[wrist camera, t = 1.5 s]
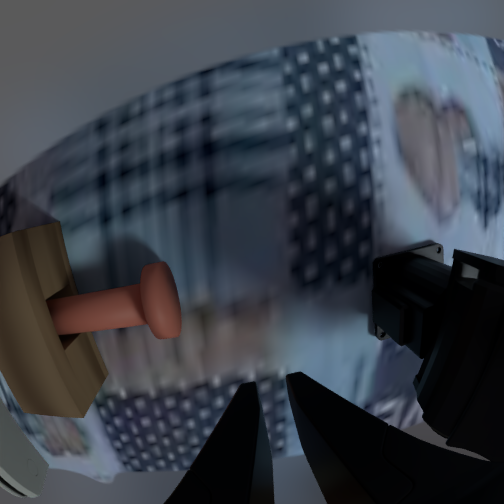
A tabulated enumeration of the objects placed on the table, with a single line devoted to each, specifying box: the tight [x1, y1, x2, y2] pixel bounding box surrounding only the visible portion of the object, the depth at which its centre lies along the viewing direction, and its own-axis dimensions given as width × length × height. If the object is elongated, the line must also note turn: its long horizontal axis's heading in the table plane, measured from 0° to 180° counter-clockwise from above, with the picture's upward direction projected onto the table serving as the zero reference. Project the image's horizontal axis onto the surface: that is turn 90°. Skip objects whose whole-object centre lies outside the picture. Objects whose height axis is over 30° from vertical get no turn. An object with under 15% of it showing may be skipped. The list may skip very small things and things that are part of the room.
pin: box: [46, 261, 181, 339], centre depth 16 cm, size 10×4×4 cm, turn 100°
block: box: [0, 222, 109, 418], centre depth 16 cm, size 6×12×6 cm, turn 10°
